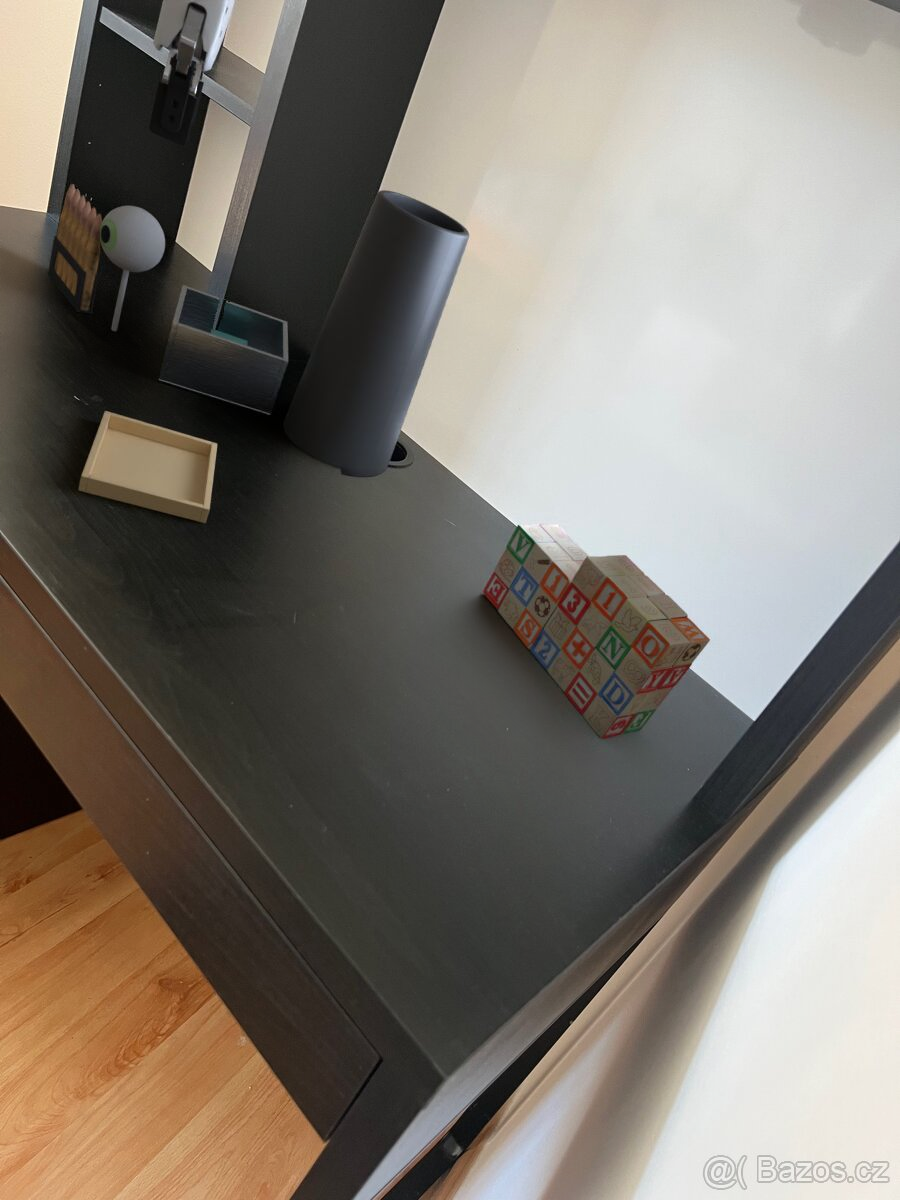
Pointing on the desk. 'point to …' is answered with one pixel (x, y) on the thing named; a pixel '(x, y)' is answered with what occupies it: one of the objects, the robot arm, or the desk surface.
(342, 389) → the vase
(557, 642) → the stack of blocks
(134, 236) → the lollipop
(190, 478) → the shallow wooden tray
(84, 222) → the ammunition clip
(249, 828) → the desk surface
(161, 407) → the desk surface
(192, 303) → the dark open-top crate
